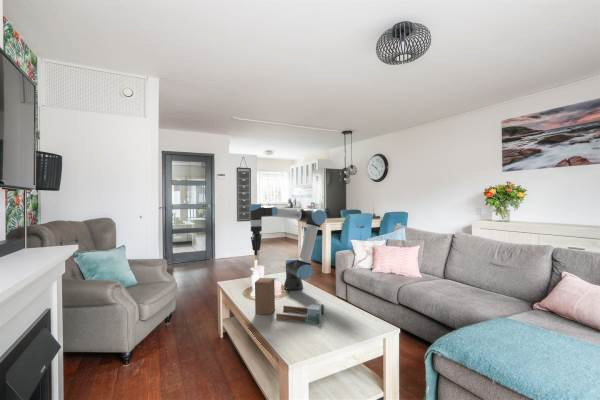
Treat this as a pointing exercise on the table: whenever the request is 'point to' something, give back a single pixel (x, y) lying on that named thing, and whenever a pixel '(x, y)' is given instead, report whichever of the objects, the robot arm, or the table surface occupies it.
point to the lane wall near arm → (300, 309)
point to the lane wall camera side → (298, 318)
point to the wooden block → (264, 296)
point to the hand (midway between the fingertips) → (256, 259)
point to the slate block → (314, 310)
